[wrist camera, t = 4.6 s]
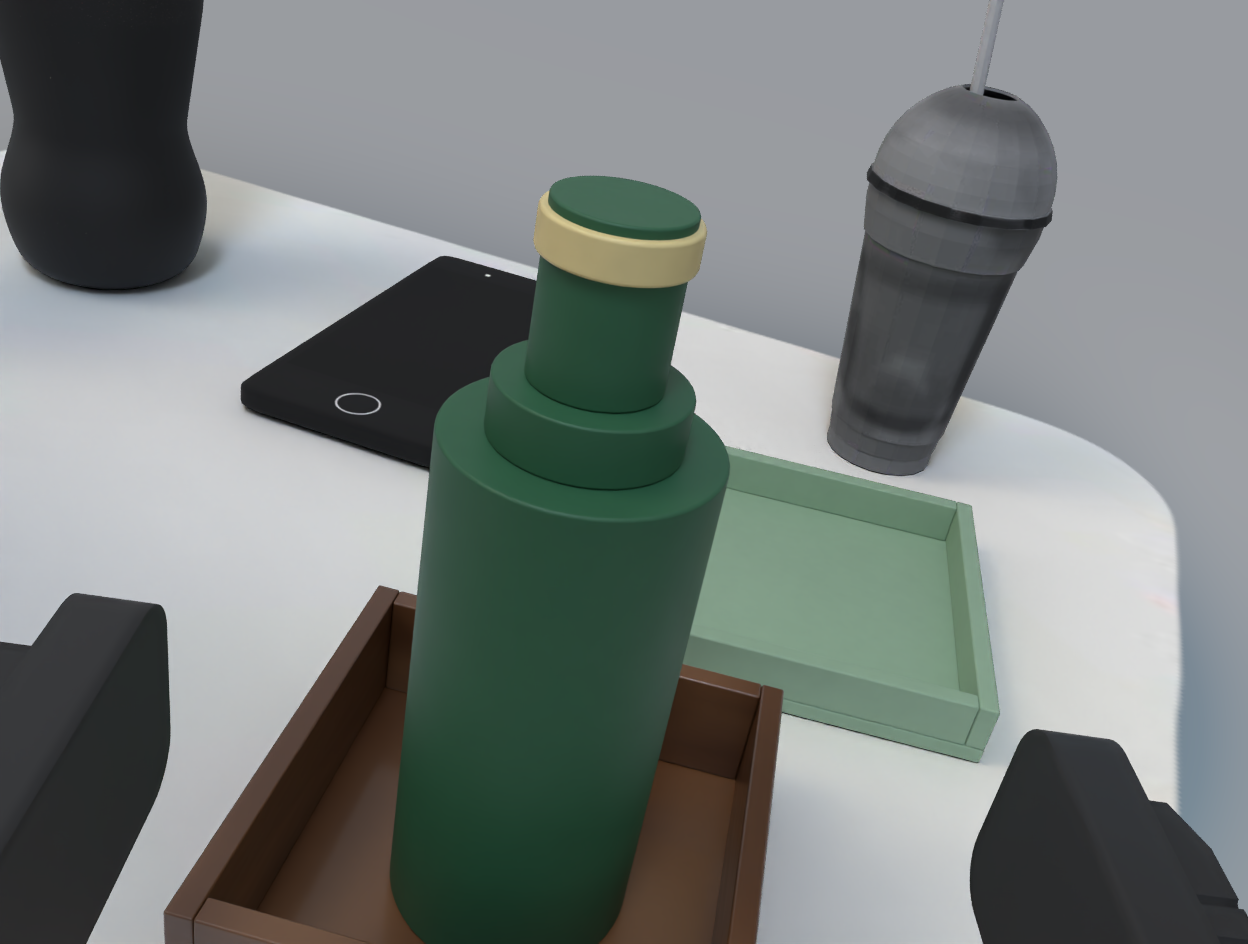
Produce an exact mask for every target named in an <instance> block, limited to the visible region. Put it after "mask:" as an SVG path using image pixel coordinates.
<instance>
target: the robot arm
mask: <svg viewBox="0 0 1248 944" xmlns="http://www.w3.org/2000/svg"><path fill="white" fill-rule="evenodd" d="M169 746H170V700H169V671H168V641H167V620H166V615H165V612H164V609H163V608H162V606H161V605H159V604H152V603H145V602H138V601H131V600H123V599H116V598H109V597H102V596H95V595H87V594H80V593H74V594H72V595H70V596H69V597H68V598H67V599H65V601H64V602H63V603H62V604H61V606H60V607H59V608H58V610H57V611H56V613H55V614H54V615H53V617H52V618H51V620H50V621H49V622H48V624H47V625H46V627H45V628H44V629H43V631H42V632H41V634H40V635H39V636H38V638H37V639H36V641H35V642H34V643H33V645H32V646H27V645H20V644H13V643H5V642H0V944H86V943H87V941H88V939H89V937H90V934H91V932H92V930H93V928H94V926H95V924H96V922H97V920H98V918H99V916H100V914H101V912H102V910H103V908H104V906H105V903H106V901H107V899H108V897H109V895H110V893H111V891H112V889H113V887H114V885H115V883H116V881H117V879H118V877H119V875H120V872H121V870H122V868H123V866H124V864H125V862H126V860H127V858H128V856H129V854H130V852H131V850H132V848H133V846H134V844H135V841H136V839H137V837H138V835H139V833H140V831H141V829H142V827H143V825H144V823H145V821H146V819H147V817H148V815H149V813H150V810H151V808H152V806H153V804H154V802H155V800H156V797H157V795H158V792H159V789H160V786H161V783H162V780H163V776H164V773H165V768H166V764H167V759H168V753H169ZM970 893H971V901H972V906H973V910H974V914H975V918H976V921H977V924H978V928H979V931H980V935H981V938H982V941H983V944H1248V916H1247V914H1246V913H1245V911H1244V910H1243V909H1238V904H1237V903H1238V900H1239V899H1238V898H1237V896H1236V894H1235V892H1234V890H1233V888H1232V887H1231V885H1230V883H1229V881H1228V879H1227V877H1226V875H1225V874H1224V872H1223V870H1222V868H1221V866H1220V864H1219V862H1218V860H1217V859H1216V857H1215V855H1214V853H1213V851H1212V849H1211V848H1210V847H1209V846H1208V845H1207V844H1206V843H1205V842H1204V841H1203V840H1202V839H1201V838H1200V837H1199V836H1198V835H1197V834H1196V833H1195V832H1194V831H1193V830H1192V828H1191V827H1190V826H1189V825H1188V824H1187V823H1186V822H1185V821H1184V820H1183V819H1182V818H1181V817H1180V816H1179V815H1178V814H1177V813H1176V812H1175V811H1174V810H1173V809H1172V808H1171V807H1170V806H1169V805H1168V804H1167V803H1163V802H1156V801H1149V800H1148V798H1147V796H1146V794H1145V792H1144V790H1143V788H1142V786H1141V784H1140V782H1139V780H1138V778H1137V776H1136V774H1135V772H1134V770H1133V768H1132V766H1131V764H1130V762H1129V760H1128V758H1127V756H1126V754H1125V752H1124V750H1123V749H1122V748H1121V746H1120V745H1119V744H1118V743H1116V742H1115V741H1113V740H1110V739H1104V738H1097V737H1089V736H1082V735H1075V734H1068V733H1061V732H1053V731H1046V730H1039V729H1033V730H1031V731H1029V732H1027V733H1026V734H1025V735H1024V737H1023V738H1022V739H1021V741H1020V743H1019V745H1018V747H1017V749H1016V751H1015V753H1014V756H1013V758H1012V760H1011V762H1010V765H1009V767H1008V769H1007V771H1006V774H1005V776H1004V778H1003V780H1002V783H1001V785H1000V787H999V790H998V792H997V794H996V796H995V799H994V801H993V803H992V805H991V808H990V810H989V812H988V814H987V817H986V819H985V821H984V823H983V826H982V828H981V830H980V832H979V835H978V837H977V840H976V842H975V845H974V849H973V853H972V859H971V867H970Z"/></svg>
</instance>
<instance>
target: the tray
mask: <svg viewBox="0 0 1248 944" xmlns="http://www.w3.org/2000/svg"><path fill="white" fill-rule="evenodd" d="M725 448H726V450H727V453H728V456H729V462H730V475H729V480H728V484H727V488H726V492H725V496H724V500H723V504H722V508H721V512H720V516H719V520H718V524H717V528H716V532H715V536H714V540H713V544H712V548H711V552H710V556H709V560H708V564H707V568H706V572H705V576H704V580H703V584H702V588H701V592H700V596H699V600H698V604H697V608H696V612H695V616H694V620H693V624H692V628H691V632H690V636H689V640H688V644H687V648H686V652H685V656H684V660H683V664H685V665H689V666H693V667H697V668H701V669H705V670H709V671H713V672H717V673H720V674H724V675H728V676H732V677H736V678H740V679H744V680H748V681H752V682H755V683H759V684H761V687H762V686H763V685H767V686H771V687H775V688H779V689H782V690H783V691H784V696H783V705H782V712H784V713H788V714H792V715H796V716H799V717H803V718H807V719H811V720H815V721H819V722H823V723H827V724H830V725H834V726H838V727H842V728H846V729H850V730H854V731H857V732H861V733H865V734H869V735H873V736H877V737H881V738H884V739H888V740H892V741H896V742H900V743H904V744H908V745H912V746H915V747H919V748H923V749H927V750H931V751H935V752H939V753H942V754H946V755H950V756H954V757H958V758H962V759H966V760H969V761H973V762H977V763H978V762H979V761H980V759H981V756H982V754H983V752H984V748H985V746H986V744H987V742H988V740H989V737H990V735H991V733H992V730H993V728H994V726H995V723H996V721H997V719H998V717H999V714H1000V711H999V704H998V696H997V689H996V682H995V674H994V667H993V660H992V652H991V645H990V637H989V630H988V623H987V615H986V608H985V601H984V593H983V586H982V579H981V571H980V564H979V557H978V549H977V542H976V535H975V527H974V520H973V513H972V506H971V505H968V504H964V503H959V502H957V503H956V502H955V501H952V500H948V499H943V498H939V497H935V496H931V495H927V494H923V493H919V492H914V491H910V490H906V489H902V488H898V487H894V486H890V485H885V484H881V483H877V482H873V481H869V480H865V479H861V478H856V477H852V476H848V475H844V474H840V473H836V472H832V471H827V470H823V469H819V468H815V467H811V466H807V465H803V464H798V463H794V462H790V461H786V460H782V459H778V458H774V457H769V456H765V455H761V454H757V453H753V452H749V451H745V450H740V449H736V448H732V447H728V446H725Z"/></svg>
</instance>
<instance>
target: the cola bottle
mask: <svg viewBox="0 0 1248 944" xmlns="http://www.w3.org/2000/svg"><path fill="white" fill-rule="evenodd" d="M203 1H204V0H0V60H1V64H2V68H3V72H4V75H5V80H6V84H7V87H8V92H9V95H10V99H11V103H12V108H13V113H14V123H13V130H12V134H11V138H10V142H9V145H8V148H7V152H6V155H5V159H4V162H3V167H2V172H1V179H0V195H1V203H2V208H3V212H4V216H5V219H6V223H7V225H8V228H9V231H10V234H11V236H12V238H13V241H14V243H15V245H16V247H17V248H18V250H19V252H20V253H21V255H22V256H23V257H24V259H25V260H26V261H27V262H28V263H29V264H30V265H31V266H33V267H34V268H35V269H37V270H38V271H40V272H42V273H43V274H45V275H47V276H49V277H52V278H54V279H57V280H59V281H62V282H66V283H69V284H73V285H78V286H83V287H90V288H100V289H127V288H137V287H143V286H148V285H152V284H156V283H159V282H162V281H165V280H167V279H170V278H172V277H174V276H176V275H177V274H179V273H180V272H182V271H183V270H184V269H185V268H187V267H188V265H189V264H190V263H191V262H192V260H193V259H194V257H195V255H196V253H197V251H198V248H199V245H200V242H201V239H202V235H203V231H204V226H205V220H206V212H207V198H206V190H205V185H204V181H203V177H202V174H201V171H200V168H199V165H198V162H197V160H196V157H195V155H194V152H193V149H192V146H191V143H190V140H189V136H188V131H187V117H188V110H189V102H190V96H191V89H192V82H193V75H194V67H195V61H196V54H197V47H198V40H199V32H200V26H201V18H202V12H203Z"/></svg>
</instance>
